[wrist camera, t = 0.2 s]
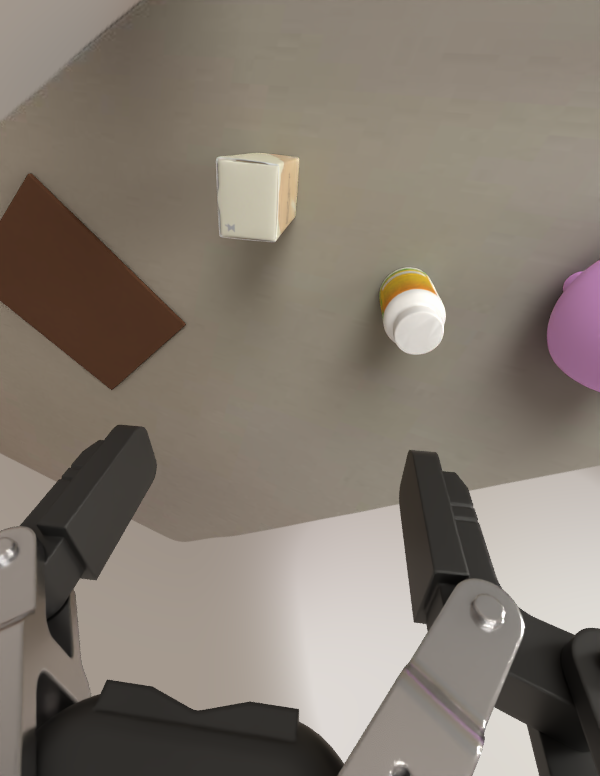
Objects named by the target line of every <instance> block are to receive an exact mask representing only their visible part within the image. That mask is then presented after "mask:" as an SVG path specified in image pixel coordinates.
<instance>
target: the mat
mask: <svg viewBox="0 0 600 776" xmlns="http://www.w3.org/2000/svg"><path fill="white" fill-rule="evenodd" d="M0 301H2V302H3V303H4V304H5V305H6V306H8V307H9V308H10V309H11V310H13V311H14V312H15V313H16V314H18V315H19V316H20V317H21V318H23V319H24V320H25V321H26V322H28V323H29V324H30V325H31V326H33V327H34V328H35V329H36V330H38V331H39V332H40V333H41V334H43V335H44V336H45V337H46V338H48V339H49V340H50V341H51V342H53V343H54V344H55V345H56V346H57V347H59V348H60V349H61V350H62V351H64V352H65V353H66V354H67V355H69V356H70V357H71V358H72V359H74V360H75V361H76V362H77V363H79V364H80V365H81V366H82V367H84V368H85V369H86V370H87V371H89V372H90V373H91V374H92V375H94V376H95V377H96V378H97V379H99V380H100V381H101V382H102V383H104V384H105V385H106V386H107V387H108V388H110V389H111V390H112V389H113V388H115V387H116V386H117V385H118V384H119V383H120V382H121V381H123V380H124V379H125V378H126V377H127V376H128V375H129V374H130V373H132V372H133V371H134V370H135V369H136V368H137V367H138V366H140V365H141V364H142V363H143V362H144V361H145V360H146V359H147V358H149V357H150V356H151V355H152V354H153V353H154V352H155V351H156V350H158V349H159V348H160V347H161V346H162V345H163V344H164V343H166V342H167V341H168V340H169V339H170V338H171V337H172V336H173V335H175V334H176V333H177V332H178V331H179V330H180V329H181V328H183V327H184V326H185V325H186V324H185V323H184V322H183V321H182V320H181V319H180V318H179V317H178V316H177V315H176V314H175V313H174V312H173V311H172V310H171V309H170V308H169V307H168V306H167V305H166V304H165V303H164V302H163V301H162V300H161V299H160V298H159V297H158V296H157V295H156V294H155V293H154V292H153V291H152V290H151V289H150V288H148V287H147V286H146V285H145V284H144V283H143V282H142V281H141V280H140V279H139V278H138V277H137V276H136V275H135V274H134V273H133V272H132V271H131V270H130V269H129V268H128V267H127V266H126V265H125V264H124V263H123V262H122V261H121V260H120V259H119V258H118V257H117V256H116V255H115V254H114V253H113V252H112V251H111V250H109V249H108V248H107V247H106V246H105V245H104V244H103V243H102V242H101V241H100V240H99V239H98V238H97V237H96V236H95V235H94V234H93V233H92V232H91V231H90V230H89V229H88V228H87V227H86V226H85V225H84V224H83V223H82V222H81V221H80V220H79V219H78V218H77V217H76V216H75V215H74V214H73V213H72V212H71V211H69V210H68V209H67V208H66V207H65V206H64V205H63V204H62V203H61V202H60V201H59V200H58V199H57V198H56V197H55V196H54V195H53V194H52V193H51V192H50V191H49V190H48V189H47V188H46V187H45V186H44V185H43V184H42V183H41V182H40V181H39V180H38V179H37V178H36V177H35V176H34V175H33V174H28V175H27V177H26V178H25V180H24V182H23V183H22V185H21V187H20V188H19V190H18V192H17V194H16V195H15V197H14V199H13V200H12V202H11V204H10V205H9V207H8V209H7V210H6V212H5V214H4V215H3V217H2V219H1V221H0Z"/></svg>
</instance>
